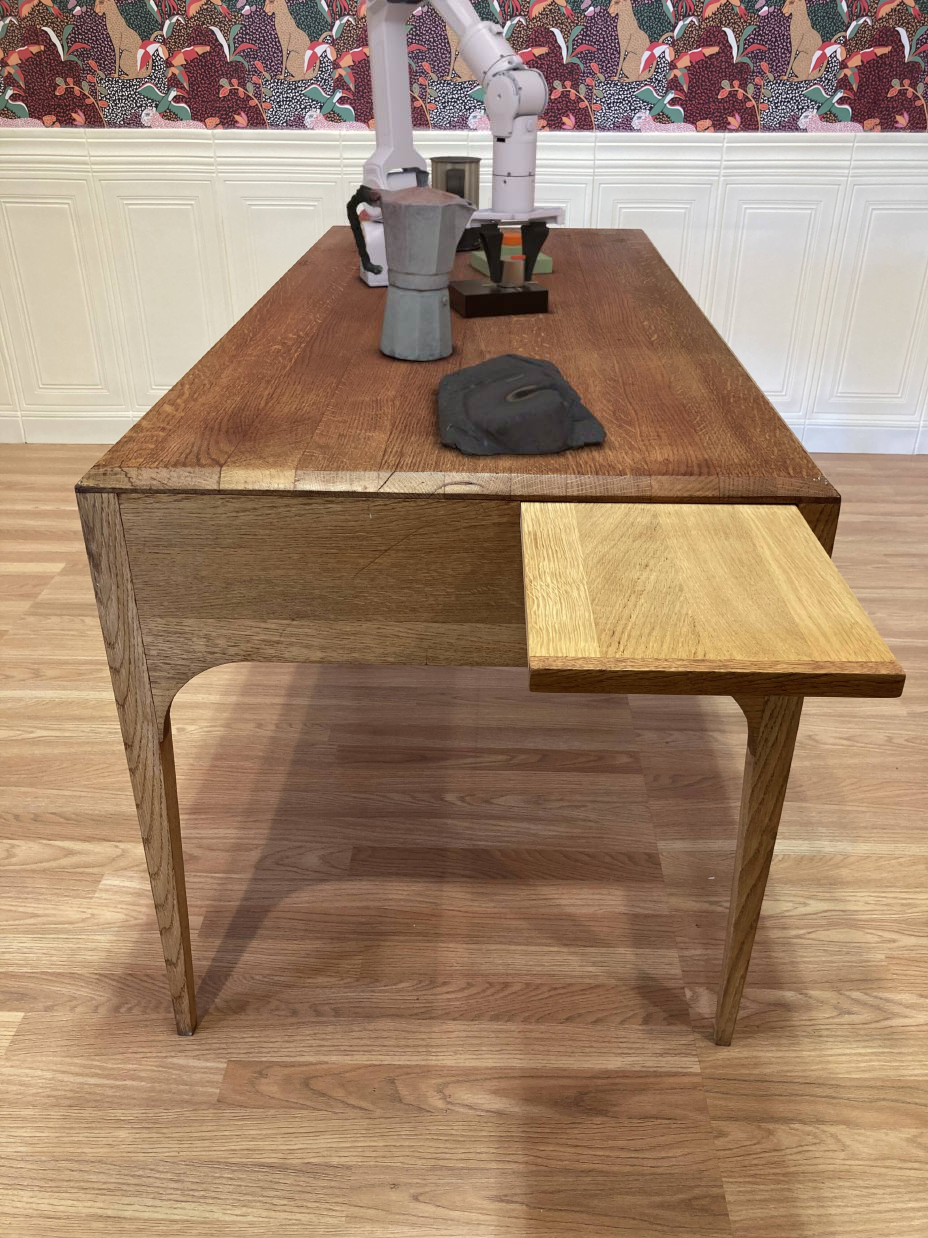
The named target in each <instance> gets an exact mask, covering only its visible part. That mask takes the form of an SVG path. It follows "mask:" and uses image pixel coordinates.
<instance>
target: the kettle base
mask: <svg viewBox="0 0 928 1238" xmlns="http://www.w3.org/2000/svg"><path fill="white" fill-rule="evenodd" d="M508 255H522V245H521V246H505V245H502V248H501V256H508ZM553 261H554V259H553V257H550V256H549V255H546V254H545V253H542V252H541V251H540V252H539V255H538V257H537V260H536V263H535V266H534V270H533V273H532V275H534V274H536V275H537V274H549V273H551V274H552V273H553V265H554V264H553V263H554V262H553ZM471 266H472V268H475V269H476V270H478V271H480V272H481V273H482V274H484V275H486V276H487V277H490V272H489V267H488V262H487V259H486V255H485V252H484V250H483V251H482V250H481V251H471Z"/></svg>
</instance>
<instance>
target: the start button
mask: <svg viewBox="0 0 928 1238" xmlns="http://www.w3.org/2000/svg"><path fill="white" fill-rule="evenodd" d="M503 234H504V236H503V241H502V245H505V246H521V245H522V237H521V233H517V232H507V233H505V232H504V233H503Z"/></svg>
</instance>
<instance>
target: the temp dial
mask: <svg viewBox="0 0 928 1238" xmlns="http://www.w3.org/2000/svg"><path fill="white" fill-rule="evenodd" d="M525 267H526V258H525V255H508V256H501V258H500V283H496V284H497V285H498V286H501V287H521V286H524V285H525Z"/></svg>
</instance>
